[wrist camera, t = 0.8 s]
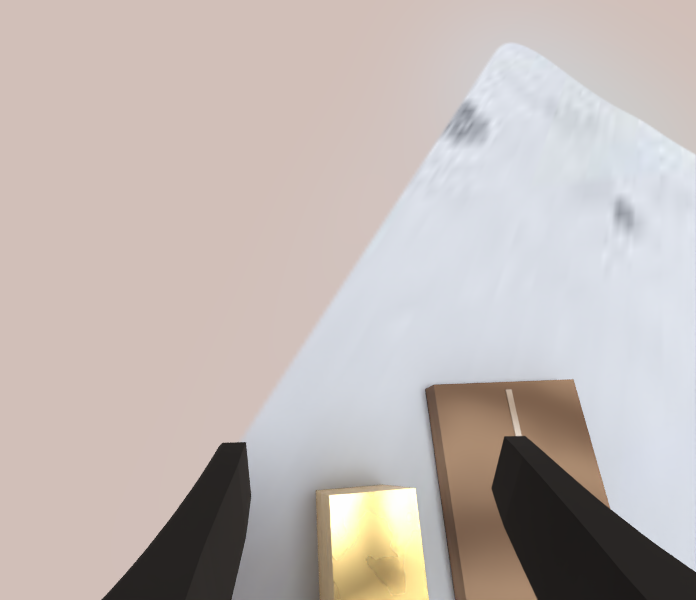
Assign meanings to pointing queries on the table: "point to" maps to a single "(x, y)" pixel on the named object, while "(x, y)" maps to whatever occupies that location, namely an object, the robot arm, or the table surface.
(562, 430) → the board
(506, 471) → the robot arm
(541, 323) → the table surface
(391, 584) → the upright wooden block
